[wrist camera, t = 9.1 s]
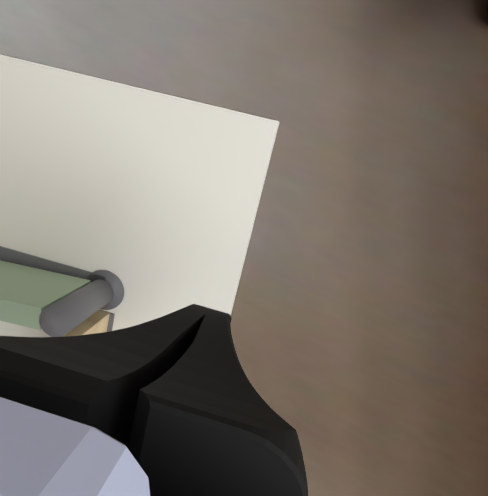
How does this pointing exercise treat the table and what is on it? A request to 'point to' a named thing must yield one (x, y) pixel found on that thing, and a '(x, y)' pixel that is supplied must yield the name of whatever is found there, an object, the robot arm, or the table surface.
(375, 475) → the table surface
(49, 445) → the robot arm
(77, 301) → the hinged fence section
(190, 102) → the card
